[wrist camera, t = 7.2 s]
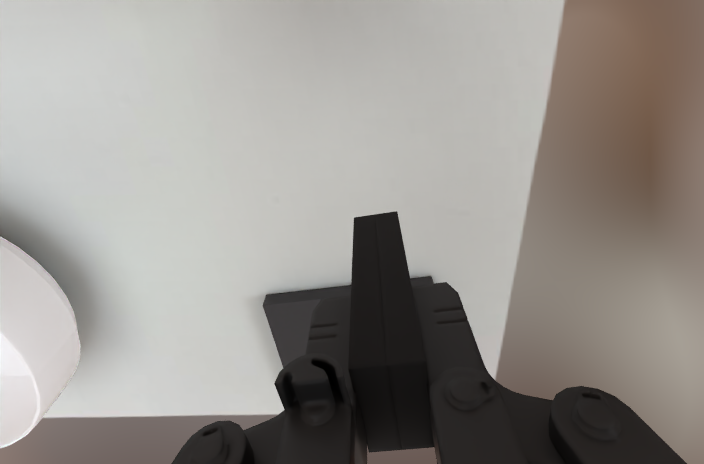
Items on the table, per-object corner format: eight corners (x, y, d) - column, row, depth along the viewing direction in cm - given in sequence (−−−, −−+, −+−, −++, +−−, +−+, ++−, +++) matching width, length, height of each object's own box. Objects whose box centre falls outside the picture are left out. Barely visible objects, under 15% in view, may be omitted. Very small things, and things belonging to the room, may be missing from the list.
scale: (446, 274, 31) (455, 297, 28) (450, 374, 36) (457, 401, 34) (266, 294, 32) (257, 318, 29) (296, 387, 37) (291, 415, 35)
